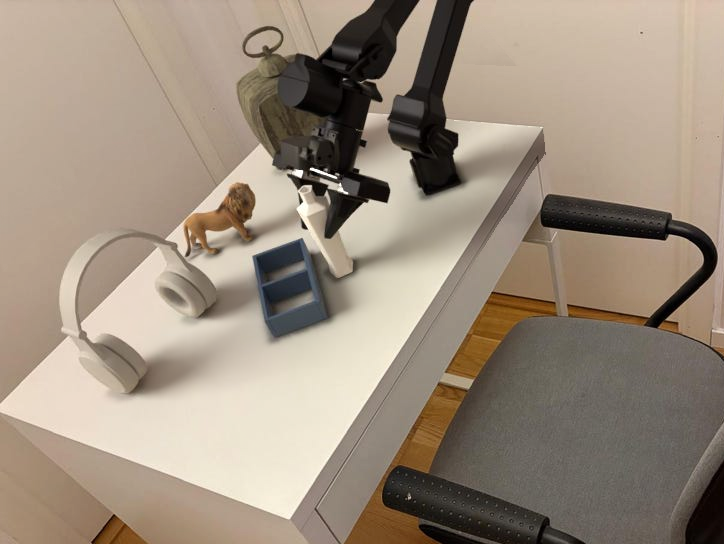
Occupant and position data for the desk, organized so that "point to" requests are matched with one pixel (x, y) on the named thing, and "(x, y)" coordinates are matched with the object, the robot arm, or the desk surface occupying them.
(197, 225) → the lion figurine
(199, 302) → the headphones
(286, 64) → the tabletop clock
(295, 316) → the box
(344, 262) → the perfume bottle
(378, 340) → the desk surface
